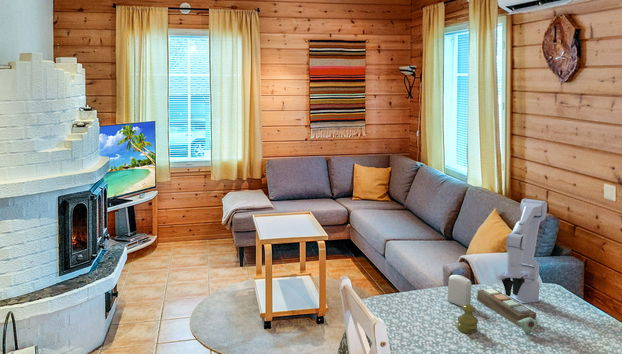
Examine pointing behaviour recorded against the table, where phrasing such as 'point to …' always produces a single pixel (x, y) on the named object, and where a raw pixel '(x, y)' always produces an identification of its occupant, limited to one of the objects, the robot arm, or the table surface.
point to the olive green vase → (467, 320)
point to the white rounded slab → (459, 290)
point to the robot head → (528, 324)
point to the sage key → (510, 303)
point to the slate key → (521, 309)
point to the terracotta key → (500, 297)
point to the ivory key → (491, 292)
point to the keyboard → (503, 308)
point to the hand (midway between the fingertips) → (511, 295)
